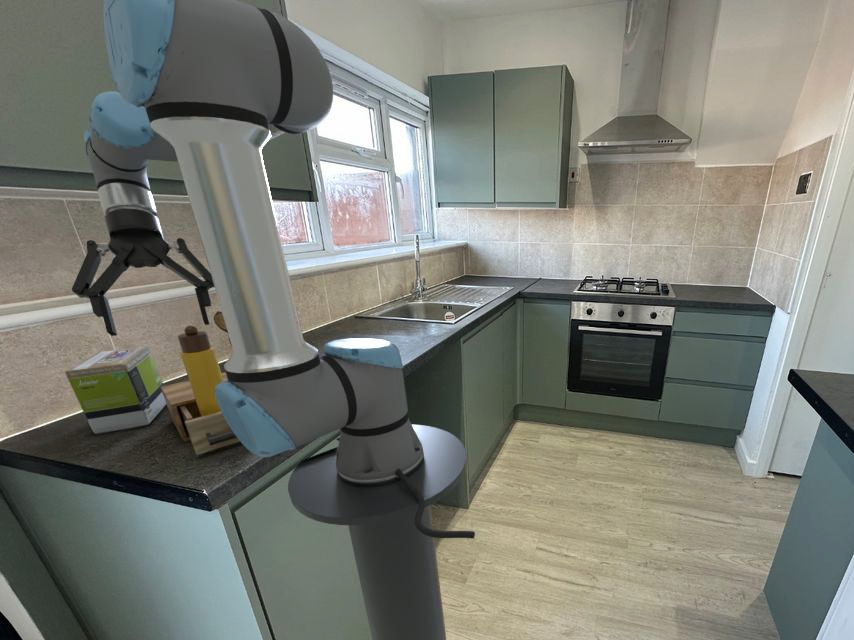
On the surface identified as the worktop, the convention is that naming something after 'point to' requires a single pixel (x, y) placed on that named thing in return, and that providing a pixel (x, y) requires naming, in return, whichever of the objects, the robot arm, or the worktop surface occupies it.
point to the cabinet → (180, 403)
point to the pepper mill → (201, 368)
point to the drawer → (206, 429)
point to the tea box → (118, 389)
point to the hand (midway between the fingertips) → (161, 328)
